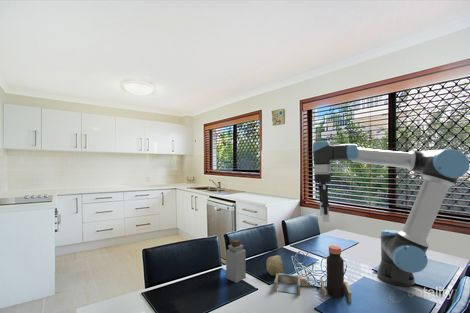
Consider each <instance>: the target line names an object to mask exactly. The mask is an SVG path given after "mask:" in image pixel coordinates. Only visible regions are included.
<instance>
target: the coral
mask: <svg viewBox="0 0 470 313" xmlns="http://www.w3.org/2000/svg"><path fill="white" fill-rule="evenodd" d="M265 265H266V266H265V267H266V271H267V272H268V274H269V275H270V276H272V277H274V276H276V274H279V273H282V274H285V271H284V264H283V260H282V258H281V255H273V256H269V257H268V258H267V259H266V263H265Z"/></svg>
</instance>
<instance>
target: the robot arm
mask: <svg viewBox="0 0 470 313" xmlns="http://www.w3.org/2000/svg"><path fill="white" fill-rule="evenodd" d="M312 158H313V166H312V169H313V173H314V175H313V178H314V179H313V180H314V182H315V183H318V193H319V194H318V196H319V199H318V201H319V213H320V214H319V215H320V216H322V217H321V218H322V223H330V210H329V209H330V208H329V207H330V203H329V190H328V189H329V186H328V184H327V183H330V182H332V175H331V173H332V169H331V162H334V161H336V162H337V161H338V162H350V163H358V164H359V163H360V164H367V165H368V164H369V165H375V166H376V165H377V166H385V167H394V168H401V169H402V168H403V169H407V170H408V171H411V172H416V173H420V174H421V177H422V179H423V181H422V183H421V186H420V188H419V190H418V193H417V196H416V198H415V200H414V202H413V204H412V208H411V210H410V212H409V213H408V217H407V219H406V222H405V224H404V226H403V229H402V230H393V229H383V230H381V231H380V254H381V255H380V257H381V258H380V263H379V265H378V268H377V277H378V278H379V279H380V280H381V281H383V282H386V283H387V284H390V285H394V286H399V287H413V286H414V285H416V284H415V283H416V279H415V275H414V274H417V273H419V272H423V271H424V270H425V268H426V267H427V266H428V263H429V262H428V257H427V251H428V249H429V244H428V242H427V240H428V236H429V234H430V232H431V230H432V227H433V225H434V222H435V221H436V218H437V216H438V214H439V211H440V209H441V206H442V204H443V203H444V200H445V198H446V195H447V193H448V190H449V189H450V188H451V187H454V186H456V184H457V182H458V180H459V178H460V177H462V176H465V175H466V174H467V173H468V171H469V169H470V160H469V158H468V156H467V155H466V154H465V153H463V152H462V151H461V150H458V149H455V148H447V147H446V148H441V149H431V150H426V151H425V150H422V151H421V150H420V151H417V150H410V151H408V152H405V151H395V150H394V151H393V150H387V149H386V150H384V149H374V148H365V147H364V148H363V147H358V145H357V144H356V143H343V144H330V141H329V140H317V141H314V142H313V144H312Z"/></svg>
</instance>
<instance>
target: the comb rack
mask: <svg viewBox="0 0 470 313" xmlns="http://www.w3.org/2000/svg"><path fill="white" fill-rule="evenodd" d="M305 278H306V277H301V276H300V275H297V274H290V273H289V274H288V273H284V274H282V273H279V274H276V275H275V279H274V281H273V291H274V292H275V293H279V292H280V293H286V294H293V295H295V294H296V295H298V296H301V286H306V287H313V286H312V285H310V284H309V283H307V282H306V281H305ZM320 280H321V287H320V290H321V295H322V296H321V297H322V299H326V289H327V287H326V288H325V287H324V281H323V280H324V279H323V278H320ZM344 293H345V294H346V298H347V300H348V302H349V303H351V302H352V292H351V289H350V286H349V284H348V282H347V281H345V280H344Z"/></svg>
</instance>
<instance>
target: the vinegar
mask: <svg viewBox="0 0 470 313" xmlns="http://www.w3.org/2000/svg"><path fill="white" fill-rule="evenodd" d="M328 253H329V255H328V256H327V257H326V280H327V288H326V294H327V295H328V296H329V297H331V298H333V299H342V298H344V297H345V290H344V281H345V276H344V275H345V272H344V271H345V267H344V266H345V264H344V259H343V258H342V256H341V255H342V247H341V246H338V245H335V244H334V245H329V246H328Z"/></svg>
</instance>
